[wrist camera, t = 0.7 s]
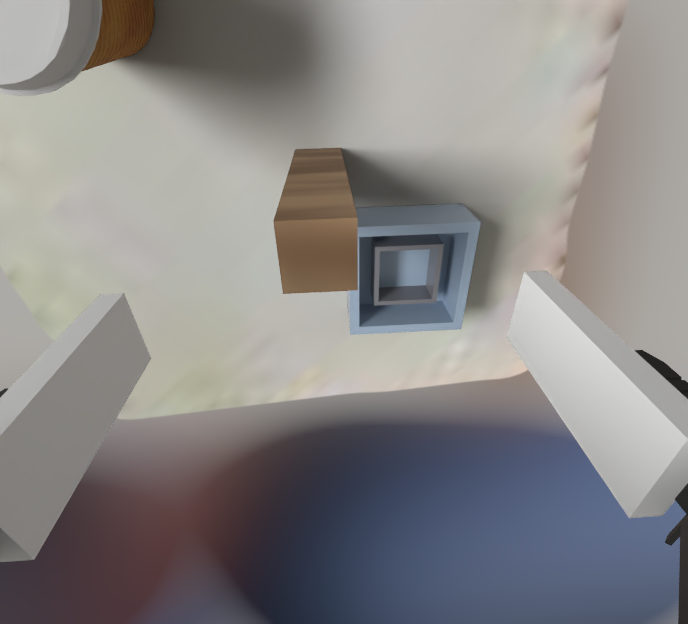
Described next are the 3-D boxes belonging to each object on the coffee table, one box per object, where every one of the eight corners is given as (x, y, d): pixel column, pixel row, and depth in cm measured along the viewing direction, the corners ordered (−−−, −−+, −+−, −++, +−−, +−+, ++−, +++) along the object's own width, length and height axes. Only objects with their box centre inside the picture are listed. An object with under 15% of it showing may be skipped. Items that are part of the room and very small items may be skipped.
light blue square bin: (345, 208, 32) (348, 227, 28) (462, 203, 32) (480, 221, 28) (347, 307, 37) (350, 334, 33) (447, 302, 37) (460, 329, 34)
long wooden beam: (295, 149, 29) (273, 221, 15) (340, 147, 29) (357, 217, 16) (299, 195, 31) (283, 293, 17) (341, 193, 31) (357, 290, 18)
